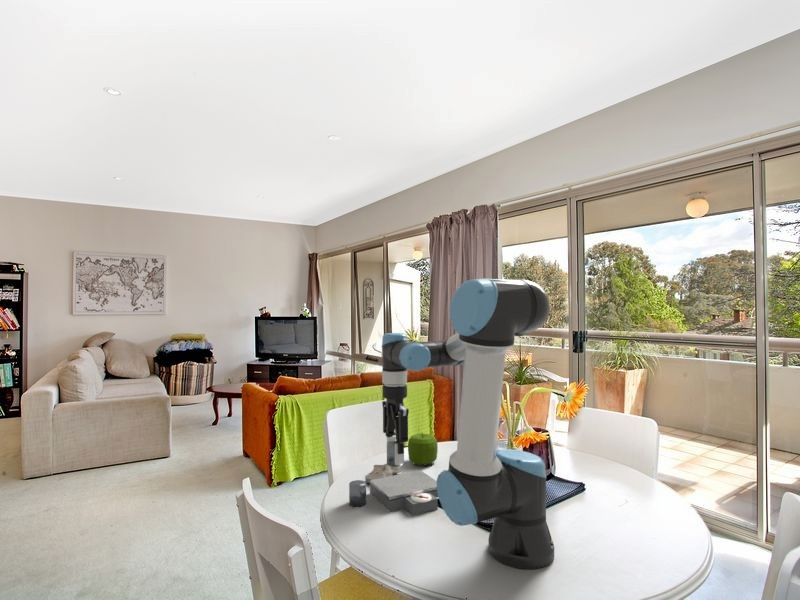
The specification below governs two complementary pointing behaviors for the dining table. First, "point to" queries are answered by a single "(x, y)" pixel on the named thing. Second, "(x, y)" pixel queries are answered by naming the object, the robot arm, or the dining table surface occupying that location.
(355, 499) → the cylinder
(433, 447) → the apple
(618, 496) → the dining table surface
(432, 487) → the platform
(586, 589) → the dining table surface
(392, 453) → the cylinder
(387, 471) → the stone
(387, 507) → the scale
